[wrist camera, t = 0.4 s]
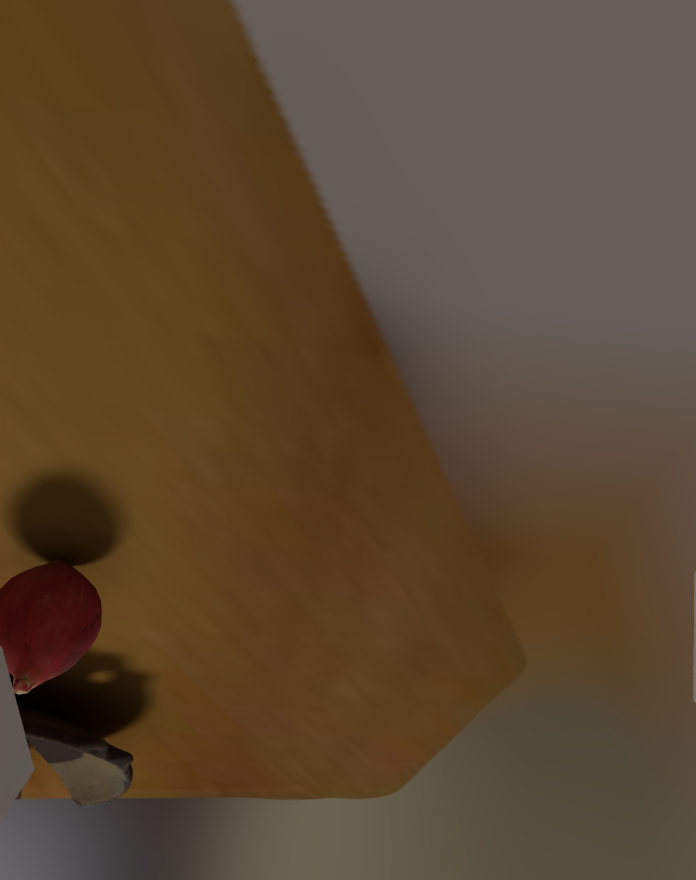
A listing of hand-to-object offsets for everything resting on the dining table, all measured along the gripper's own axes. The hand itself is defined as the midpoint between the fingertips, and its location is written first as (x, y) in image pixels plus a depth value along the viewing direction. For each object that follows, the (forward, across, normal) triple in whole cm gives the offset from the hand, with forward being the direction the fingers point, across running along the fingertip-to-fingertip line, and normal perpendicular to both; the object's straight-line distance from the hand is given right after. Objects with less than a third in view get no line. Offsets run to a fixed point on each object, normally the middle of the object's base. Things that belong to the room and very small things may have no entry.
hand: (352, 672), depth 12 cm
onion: (+25, -18, -7) cm, 32 cm away
